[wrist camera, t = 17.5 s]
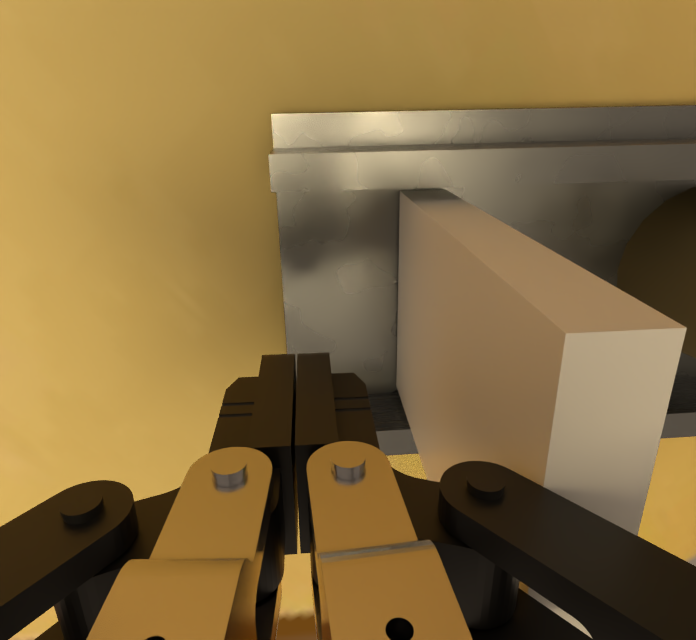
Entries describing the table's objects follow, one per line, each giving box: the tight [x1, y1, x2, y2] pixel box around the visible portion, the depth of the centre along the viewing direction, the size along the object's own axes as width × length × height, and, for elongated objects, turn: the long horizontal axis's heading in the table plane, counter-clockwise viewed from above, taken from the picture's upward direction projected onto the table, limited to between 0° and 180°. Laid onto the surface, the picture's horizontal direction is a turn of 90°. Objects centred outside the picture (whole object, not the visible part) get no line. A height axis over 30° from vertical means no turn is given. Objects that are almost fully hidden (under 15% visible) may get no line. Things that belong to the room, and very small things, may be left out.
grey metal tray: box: [268, 105, 696, 455], centre depth 18 cm, size 12×20×4 cm, turn 91°
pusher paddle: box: [396, 189, 687, 639], centre depth 13 cm, size 7×2×12 cm, turn 1°
